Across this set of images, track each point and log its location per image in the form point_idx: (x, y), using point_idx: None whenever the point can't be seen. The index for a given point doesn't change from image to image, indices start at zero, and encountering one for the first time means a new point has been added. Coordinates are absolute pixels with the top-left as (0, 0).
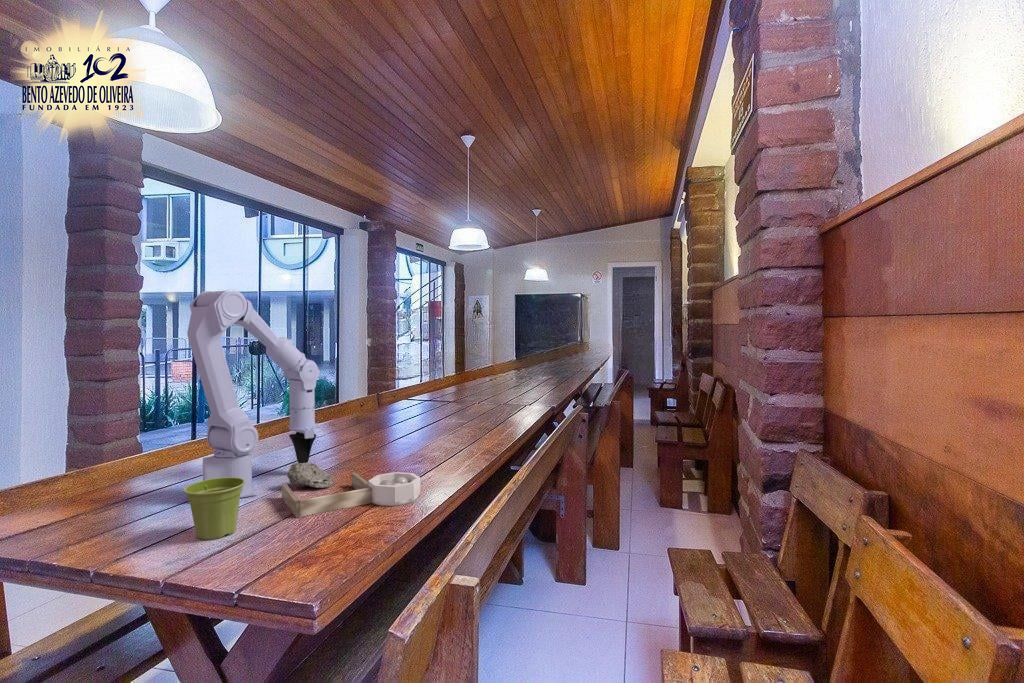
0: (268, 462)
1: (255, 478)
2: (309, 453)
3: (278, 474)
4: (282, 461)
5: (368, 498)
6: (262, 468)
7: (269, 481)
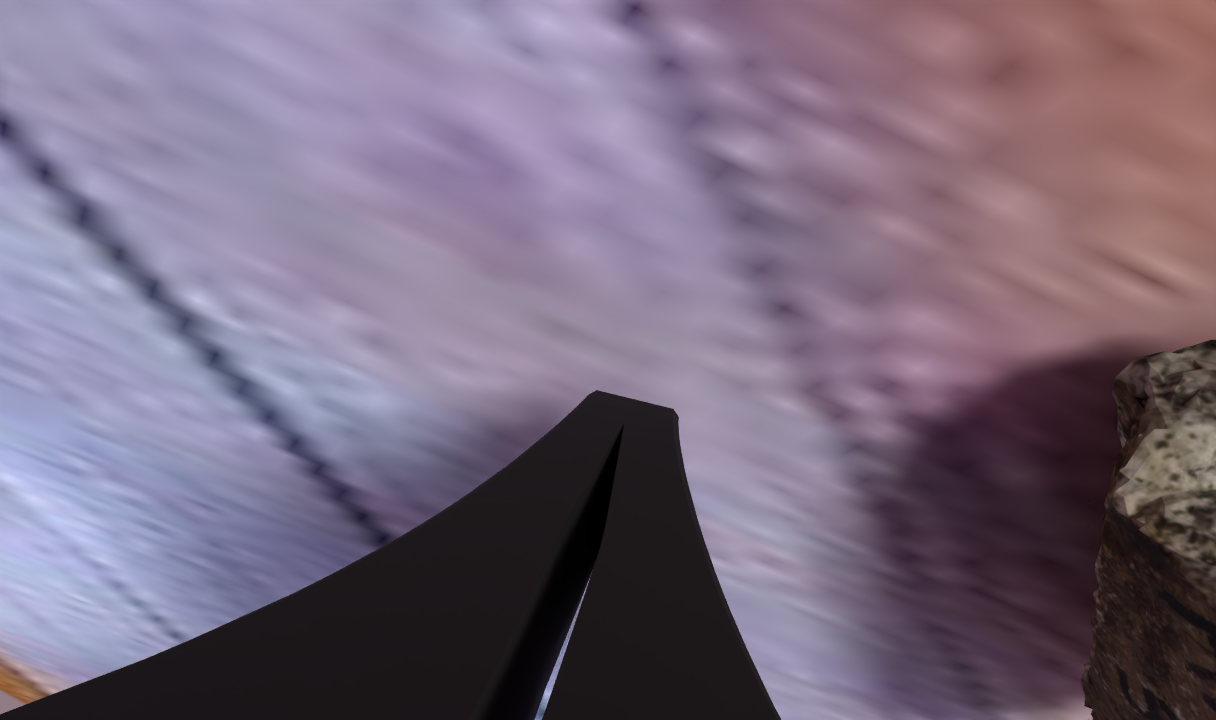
0: (43, 375)
1: None
2: (689, 503)
3: None
4: (28, 277)
5: None
6: (229, 483)
7: None
